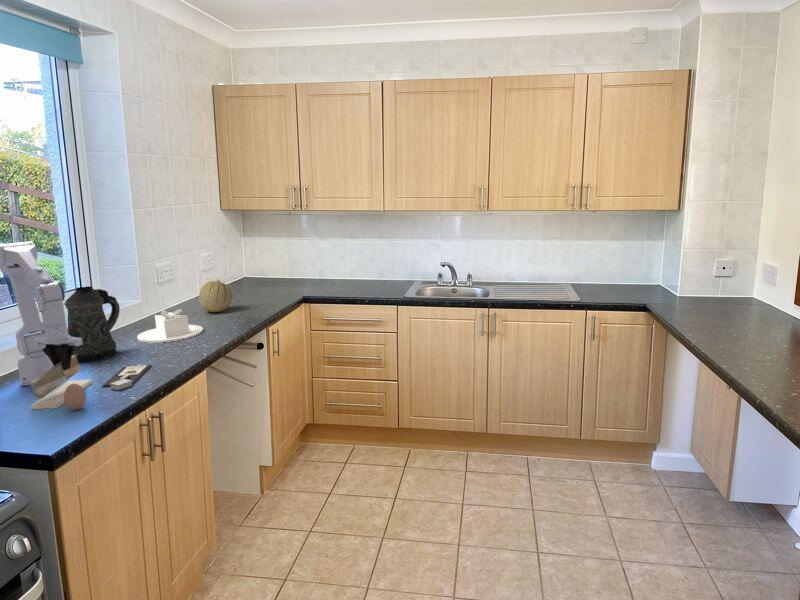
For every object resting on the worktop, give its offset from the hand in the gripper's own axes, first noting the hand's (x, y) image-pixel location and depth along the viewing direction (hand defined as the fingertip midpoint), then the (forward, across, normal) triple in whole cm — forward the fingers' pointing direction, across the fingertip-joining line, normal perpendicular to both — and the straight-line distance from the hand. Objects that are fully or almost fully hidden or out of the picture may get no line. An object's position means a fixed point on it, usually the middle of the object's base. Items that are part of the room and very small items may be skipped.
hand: (63, 368), depth 171 cm
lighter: (+7, -12, -4) cm, 14 cm away
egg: (+8, -13, +11) cm, 19 cm away
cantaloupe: (+8, +7, -104) cm, 105 cm away
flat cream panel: (+8, 0, +2) cm, 8 cm away
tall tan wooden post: (+4, 0, +2) cm, 4 cm away
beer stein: (+8, +20, -37) cm, 42 cm away
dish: (+8, +6, -64) cm, 65 cm away
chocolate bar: (+8, -9, -15) cm, 20 cm away
